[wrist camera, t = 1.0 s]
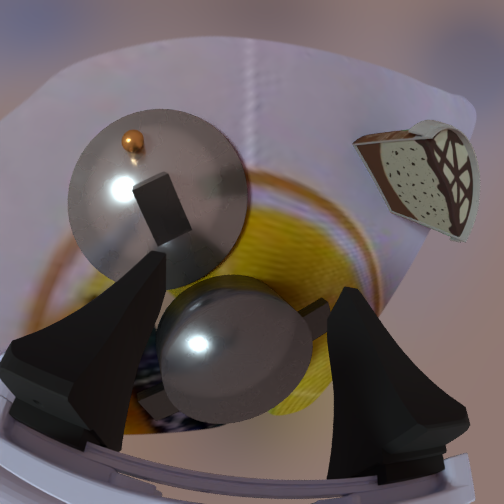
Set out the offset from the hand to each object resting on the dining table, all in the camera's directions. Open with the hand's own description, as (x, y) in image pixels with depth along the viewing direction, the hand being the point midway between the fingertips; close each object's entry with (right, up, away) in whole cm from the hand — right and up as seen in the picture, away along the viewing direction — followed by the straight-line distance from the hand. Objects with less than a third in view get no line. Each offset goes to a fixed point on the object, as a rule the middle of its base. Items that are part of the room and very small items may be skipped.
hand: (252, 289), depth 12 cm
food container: (+15, +11, +17) cm, 25 cm away
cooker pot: (-3, -7, +16) cm, 17 cm away
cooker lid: (-7, +5, +10) cm, 14 cm away
